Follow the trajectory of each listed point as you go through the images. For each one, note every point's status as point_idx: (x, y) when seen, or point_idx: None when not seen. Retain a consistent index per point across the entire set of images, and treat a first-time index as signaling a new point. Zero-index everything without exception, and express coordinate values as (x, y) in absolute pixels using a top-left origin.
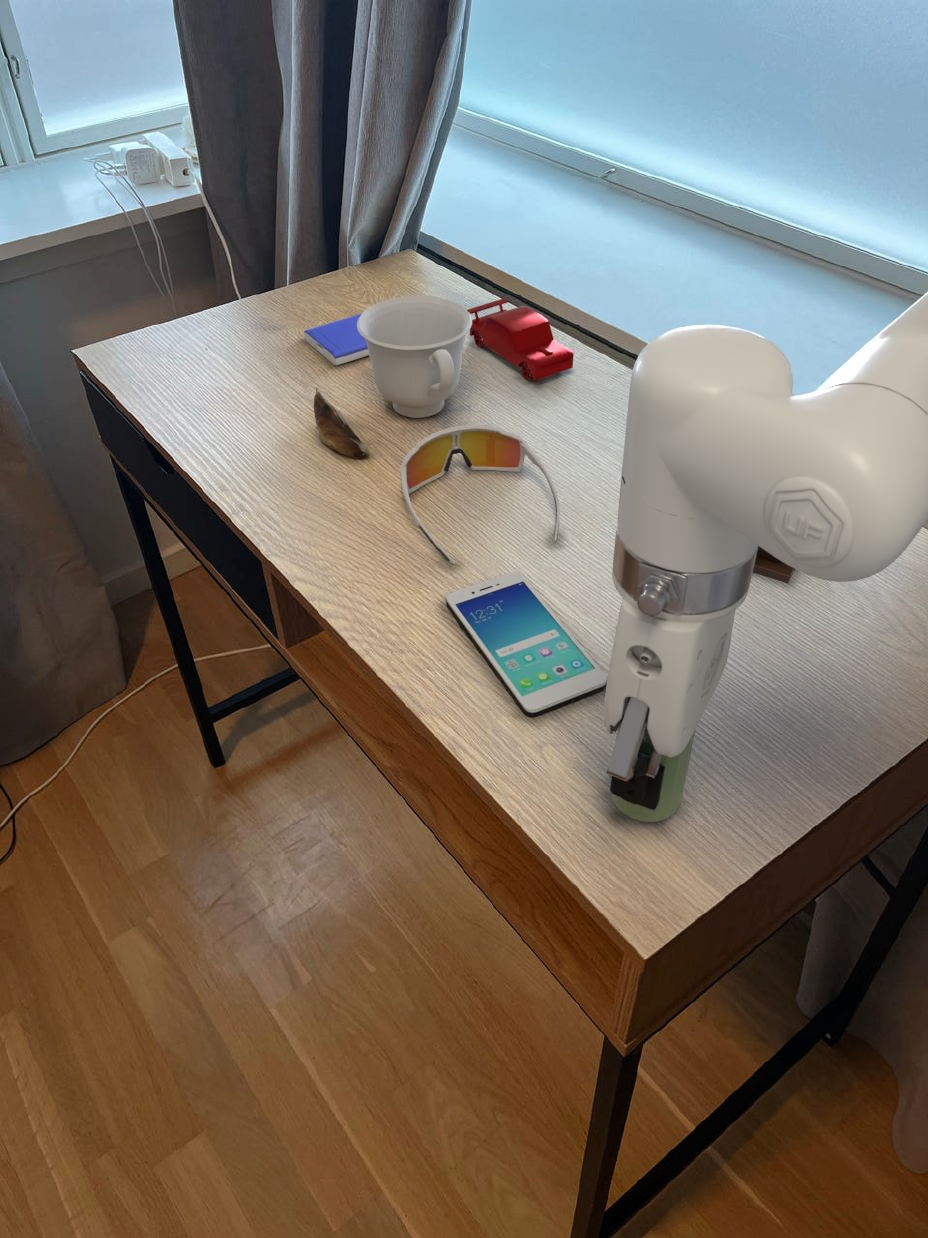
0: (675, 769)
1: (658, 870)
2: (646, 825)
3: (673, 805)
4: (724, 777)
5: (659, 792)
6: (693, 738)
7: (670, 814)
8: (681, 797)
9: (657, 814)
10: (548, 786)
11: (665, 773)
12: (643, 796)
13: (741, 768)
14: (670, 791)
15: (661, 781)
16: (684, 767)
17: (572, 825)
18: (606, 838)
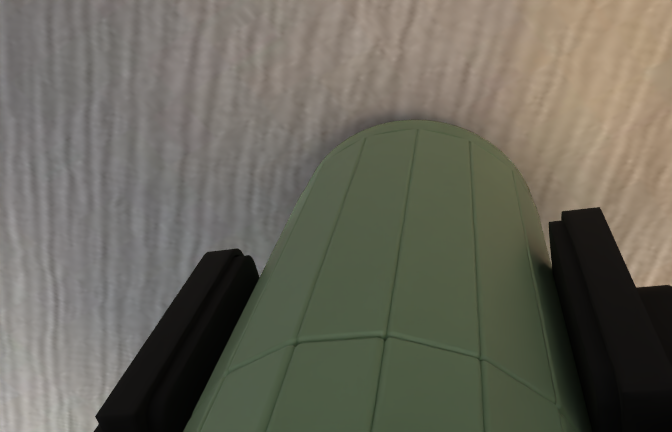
0: (478, 286)
1: (643, 39)
2: None
3: (445, 144)
4: (160, 58)
5: (609, 263)
6: (303, 354)
7: (451, 128)
8: (379, 136)
9: (505, 167)
10: None
11: (528, 310)
12: (663, 305)
13: (90, 32)
14: (480, 203)
15: (628, 317)
16: (405, 245)
17: None
18: (612, 232)
